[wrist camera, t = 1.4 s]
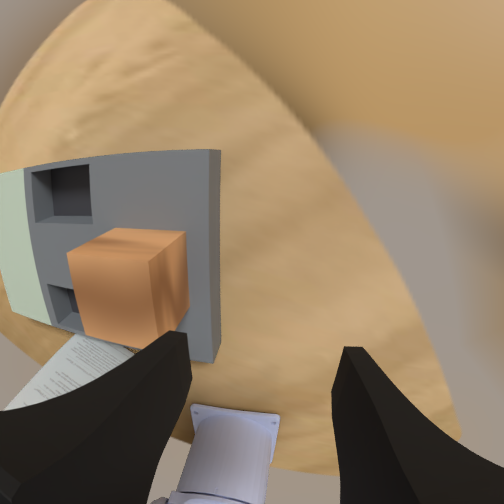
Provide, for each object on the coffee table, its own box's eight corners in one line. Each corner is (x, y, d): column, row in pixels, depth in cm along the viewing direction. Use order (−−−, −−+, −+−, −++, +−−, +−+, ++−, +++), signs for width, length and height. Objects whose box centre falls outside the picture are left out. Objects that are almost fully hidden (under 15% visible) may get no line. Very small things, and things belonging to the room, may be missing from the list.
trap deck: (221, 341, 20) (213, 363, 18) (27, 300, 22) (12, 311, 20) (220, 150, 16) (209, 149, 13) (6, 172, 18) (-13, 176, 15)
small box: (80, 360, 23) (10, 447, 11) (87, 319, 21) (-7, 416, 9) (148, 403, 24) (95, 507, 12) (165, 369, 22) (98, 496, 10)
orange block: (190, 306, 16) (161, 353, 12) (124, 296, 17) (85, 334, 12) (185, 231, 15) (148, 261, 11) (115, 227, 15) (66, 253, 11)
